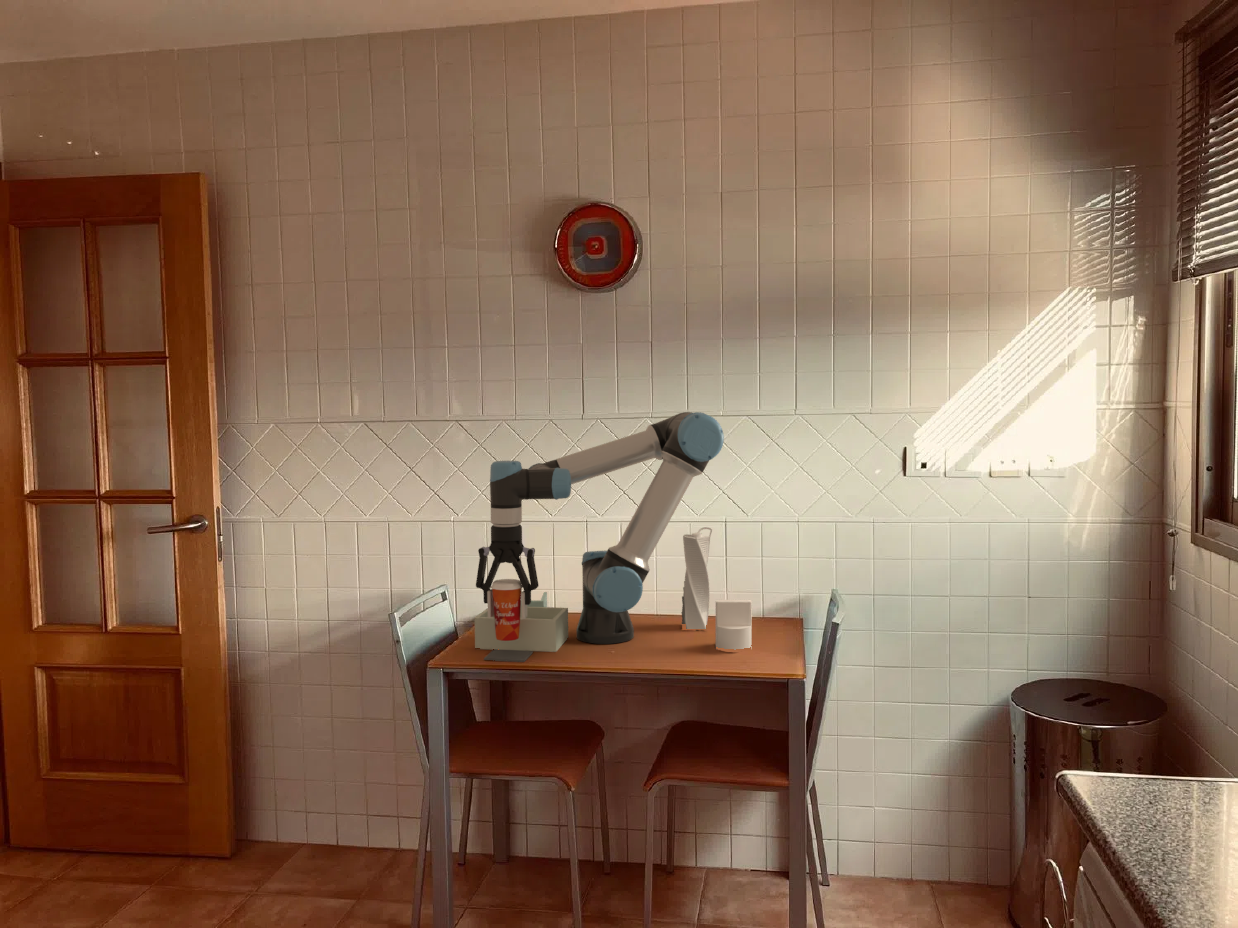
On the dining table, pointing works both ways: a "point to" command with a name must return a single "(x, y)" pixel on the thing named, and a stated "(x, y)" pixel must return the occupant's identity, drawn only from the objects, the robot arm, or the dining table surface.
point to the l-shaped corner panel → (539, 602)
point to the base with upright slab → (733, 624)
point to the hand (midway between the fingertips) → (507, 616)
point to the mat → (508, 655)
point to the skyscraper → (696, 581)
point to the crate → (526, 631)
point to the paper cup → (507, 608)
